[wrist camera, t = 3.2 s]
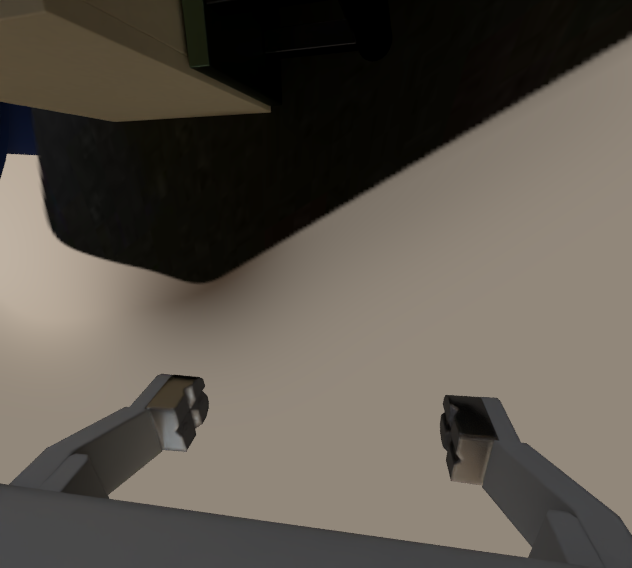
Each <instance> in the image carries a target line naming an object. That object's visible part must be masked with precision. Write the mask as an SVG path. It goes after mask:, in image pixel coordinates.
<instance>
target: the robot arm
mask: <svg viewBox="0 0 632 568" xmlns="http://www.w3.org/2000/svg"><path fill="white" fill-rule="evenodd" d="M204 387H205V384H204V381H203V379H202V378H200V377H192V376H182V375H168V374H160V375H158V376H157V377H156V378H155V379H154V380H153V381H152V382H151V383H150V384H149V386H148V387H147V388H146V389H145V390H144V391H143V392H142V394H141V395H140V396H139V397H138V398H137V399H136V401H134V403H133V404H132V405H131V406H130V407H124V408H122V409H120V410H118V411H117V412H115V413H113V414H111V415H109V416H107V417H105V418H103V419H102V420H99V421H97V422H96V423H94V424H92V425H90V426H88V427H86V428H84V429H82V430H80V431H78V432H77V433H75V434H73V435H71V436H69V437H67V438H65V439H63V440H61V441H60V442H58V443H56V444H54V445H52V446H50V447H48V448H46V449H45V450H44V451H43V452H42V453H41V454H40V455H39V456H38V457H37V458H36V459H35V460H34V461H33V462H32V463H31V464H30V465H29V466H28V467H27V468H26V469H25V470H24V471H23V472H21V474H20V475H18V476H17V477H16V478H15V479H14V480H13V481H12V482H11V483H10V484H9V485H6V484H0V568H632V535H631V533H630V532H629V530H628V529H627V527H626V526H625V525H624V523H623V521H622V520H621V518H620V517H619V516H618V515H617V514H616V513H614V512H613V511H612V510H611V509H609V508H608V507H607V506H605V505H604V504H603V503H602V502H600V501H599V500H598V499H597V498H595V497H594V496H593V495H591V494H590V493H589V492H588V491H586V490H585V489H584V488H583V487H581V486H580V485H579V484H577V483H576V482H575V481H574V480H572V479H571V478H570V477H569V476H567V475H566V474H565V473H564V472H562V471H561V470H560V469H559V468H557V467H556V466H554V465H553V464H552V463H551V462H550V461H548V460H547V459H546V458H544V457H543V456H542V455H541V454H539V453H538V452H537V451H536V450H534V449H533V448H532V447H530V446H529V445H528V444H527V443H521V442H520V440H519V438H518V436H517V434H516V432H515V430H514V428H513V426H512V424H511V422H510V420H509V418H508V416H507V414H506V412H505V410H504V408H503V406H502V404H501V402H500V400H499V399H498V398H489V397H468V396H454V395H445V397H444V401H443V406H444V410H445V413H443V414H442V415H441V421H440V434H441V440H442V444H443V447H444V448H445V449H446V450H447V457H446V462H447V466H448V470H449V474H450V478H451V481H454V482H462V483H470V484H476V485H482V487H483V489H484V490H485V491H486V492H487V493H488V494H489V496H490V497H491V498H492V499H493V501H494V502H495V503H496V504H497V505H498V507H499V508H500V509H501V510H502V511H503V513H504V514H505V515H506V516H507V518H508V519H509V520H510V521H511V522H512V524H513V525H514V526H515V527H516V528H517V530H518V531H519V532H520V533H521V534H522V536H523V537H524V538H525V539H526V540H527V542H528V543H529V544H530V545H531V546H532V550H531V552H530V555H529V557H528V558H525V557H517V556H510V555H503V554H497V553H489V552H482V551H475V550H467V549H461V548H454V547H447V546H440V545H433V544H425V543H418V542H411V541H404V540H396V539H390V538H383V537H376V536H368V535H361V534H354V533H347V532H340V531H332V530H325V529H319V528H311V527H304V526H297V525H290V524H283V523H275V522H268V521H261V520H254V519H247V518H239V517H232V516H225V515H218V514H211V513H205V512H198V511H191V510H184V509H177V508H170V507H162V506H155V505H149V504H141V503H134V502H127V501H120V500H113V499H109V497H108V495H109V494H110V493H111V492H112V491H114V490H115V489H116V488H117V487H119V486H120V485H121V484H122V483H123V482H125V481H126V480H127V479H128V478H130V477H131V476H132V475H133V474H135V473H136V472H137V471H138V470H140V469H141V468H142V467H143V466H144V465H146V464H147V463H148V462H149V461H150V460H152V459H153V458H154V457H156V456H157V455H158V454H159V453H161V452H162V450H173V451H184V452H186V451H187V449H188V448H189V446H190V444H191V443H192V441H193V439H194V437H195V436H196V431H195V428H197V427H198V426H200V425H201V424H203V422H204V420H205V418H206V416H207V412H208V408H209V401H208V397H207V395H206V394H205V393H204V392H203V391H202V390H203V389H204Z"/></svg>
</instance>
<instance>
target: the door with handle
mask: <svg viewBox="0 0 632 568" xmlns="http://www.w3.org/2000/svg"><path fill="white" fill-rule="evenodd" d="M319 1H326V0H182V9H183V18H184V26H185V35H186V44H187V52H188V57H189V66H190V68H192V69H194V70H196V71H198V72H200V73H202V74H204V75H206V76H208V77H210V78H213V79H215V80H217V81H219V82H221V83H223V84H225V85H227V86H229V87H231V88H233V89H235V90H237V91H239V92H241V93H243V94H246V95H248V96H250V97H252V98H254V99H256V100H258V101H260V102H262V103H264V104H266V105H268V106H277V105H282V88H281V62H280V59H283V58H292V57H302V56H311V55H321V54H330V53H340V52H350V51H359V53H360V55H361V56H362V57H363V58H364V59H365V60H368V61H377V60H380V59H381V58H383V57H384V56H385V55H386V54H387V53H388V51H389V49H390V47H391V44H392V30H391V21H390V13H389V5H388V0H338V1H339V4H340V6H341V9H342V11H343V14H344V16H345V18H346V19H340V20H333V21H325V22H318V23H310V24H302V25H295V26H287V27H279V9H278V8H279V7H286V6H292V5H299V4H306V3H313V2H319Z"/></svg>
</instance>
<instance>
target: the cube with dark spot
mask: <svg viewBox="0 0 632 568" xmlns="http://www.w3.org/2000/svg"><path fill="white" fill-rule="evenodd" d="M0 102H6V103H12V104H17V105H23V106H29V107H34V108H40V109H46V110H51V111H57V112H63V113H68V114H74V115H80V116H85V117H91V118H97V119H102V120H108V121H113V122H120V121H137V120H153V119H169V118H186V117H202V116H218V115H235V114H251V113H267V112H271V106H268V105H266V104H264V103H262V102H260V101H258V100H256V99H254V98H252V97H250V96H248V95H246V94H243V93H241V92H239V91H237V90H235V89H233V88H231V87H229V86H227V85H225V84H223V83H221V82H219V81H217V80H215V79H213V78H210V77H208V76H206V75H204V74H202V73H200V72H198V71H196V70H194V69H192V68H190V66H189V57H188V52H187V44H186V35H185V26H184V18H183V9H182V0H0Z"/></svg>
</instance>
